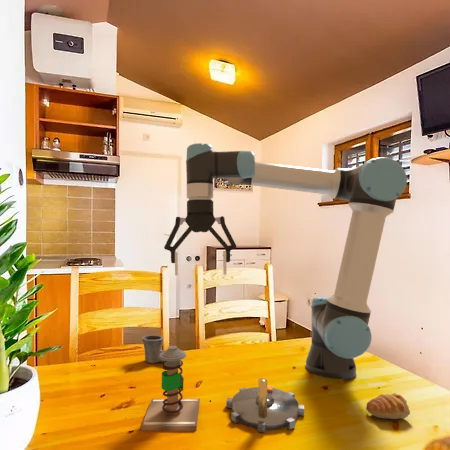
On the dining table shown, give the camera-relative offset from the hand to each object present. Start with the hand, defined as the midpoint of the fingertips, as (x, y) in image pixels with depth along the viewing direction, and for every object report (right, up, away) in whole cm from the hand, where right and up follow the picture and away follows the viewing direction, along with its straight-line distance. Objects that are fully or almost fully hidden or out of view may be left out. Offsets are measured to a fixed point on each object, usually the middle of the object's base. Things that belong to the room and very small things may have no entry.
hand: (200, 274), depth 99 cm
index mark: (+19, -31, -4) cm, 36 cm away
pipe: (-15, -31, +15) cm, 38 cm away
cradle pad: (-6, -31, -17) cm, 36 cm away
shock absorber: (-5, -30, -17) cm, 35 cm away
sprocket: (+16, -31, -15) cm, 38 cm away
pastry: (+43, -32, -14) cm, 55 cm away
